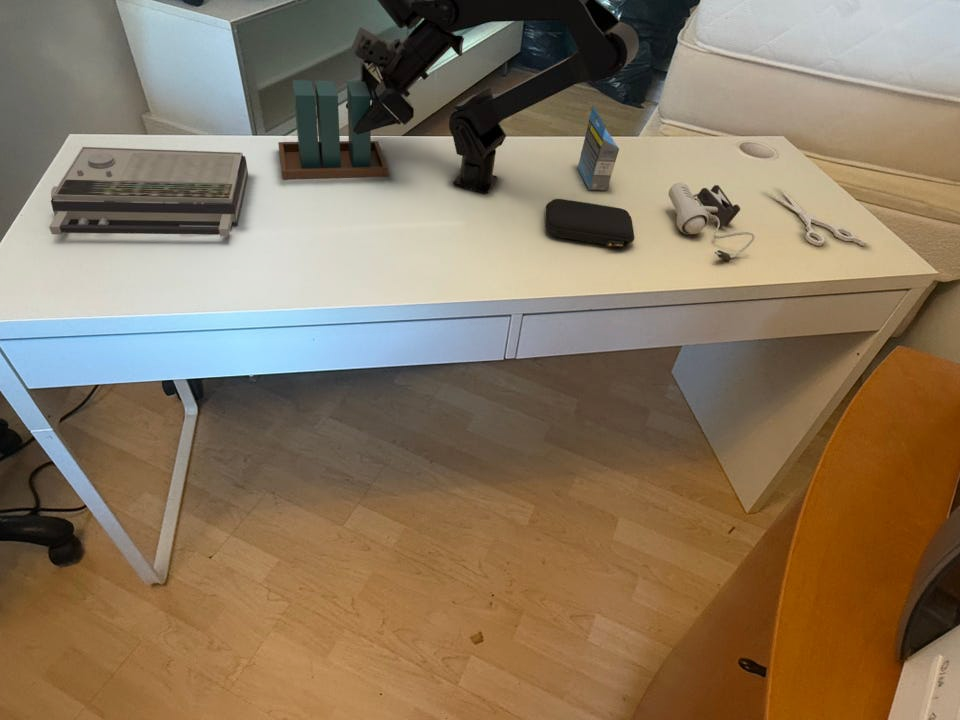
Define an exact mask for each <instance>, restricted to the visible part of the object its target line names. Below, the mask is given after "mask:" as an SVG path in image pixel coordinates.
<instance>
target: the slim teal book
mask: <svg viewBox="0 0 960 720" xmlns="http://www.w3.org/2000/svg"><path fill="white" fill-rule="evenodd" d="M346 95H347V96H346V97H347V100H346V101H347V102H348V109H347V125H348V126H347V129H348V131H347V132H348V141H349V156H350V160H351V163H352V167H371V141H372V139H371V138H372V137H371V136H372V135H371V133H372V130H371V131H368V132H365V133H362V134H356V133H355V132H354V131H353V128H354V127H355V125H356V124H357V123H358V121H359V120H360V119H361V117H362V116H363V115H364V113H365V112H366V111H367V109H368V108H369V107H370V105H371V101H370V94H369V91H368V89H367V86H366V83H365V82H358V81H354V80H353V81H352V80H351V81H349V80H348V81H347V80H346Z"/></svg>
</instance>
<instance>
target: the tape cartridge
mask: <svg viewBox="0 0 960 720" xmlns="http://www.w3.org/2000/svg"><path fill="white" fill-rule="evenodd" d="M590 109H591V110H590V114H589V119H588V124H587V128H586V132H585V136H584V140H583V145H582V148H581V153H580V157H579V161H578V165H577V169H578V171H579V174H580V175H581V177H582V179H583V181H584V183H585V185H586V188H587V190H588V191H600V192H601V191H603V192H605V191H608V189H609V185H610V181H611V178H612V174H613V171H614V168H615V164H616V162H617V158H618V155H619V151H620V148H619V146H618V145H617V143H616V142H615V140H614V139H613V137H612V136H611V134H610V133H609V131H608V130H607V128H606V126H607V125H606V123H605V122H604V121H603V118H602V117H601V116H600V114H599V112H598V110H597V109H596V108H595V106H594V105H593V104H591V108H590ZM596 120H597V121H596Z"/></svg>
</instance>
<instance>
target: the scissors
mask: <svg viewBox="0 0 960 720" xmlns="http://www.w3.org/2000/svg"><path fill="white" fill-rule="evenodd" d="M780 190H781V191H782V193H783V194H784V196H785V197H786V198H787V200H788V201H789V202H790V203H788V202H787V201H785V200H784V199H782V198H780V197H778V196H777V195H775V194H773V193H771V192H769V191H767V190H766V192H767V193H769V194H770V195H771V196H773V197H774V198H775V199H777V200H778V201H779V202H781V203H782V204H783V205H785V206H786V207H788V208H789V209H791V210H792V211H794V212H795V213H796V214H797V215H798V216H799V218H800V220H801V221H803V223H804V224H805V225H806V227H805V230H807V232H806V234H805V236H804V237H805V240H806V241H807V242H808V243H810V244H811V245H814V246H818V247H819V246H822V245H823V244H824V243H825V241H826V239H825V237H824V236H823V235H822V234H821V233H820V232H819V233H818V232H817V231H815V230H814V229H813V228H812V224H815V225H818V226H821V227H823V228H826V229H827V230H829V231H830V232H831V233H833V236H834V237H836V238H838V239H840V240H841V241H846V242H854V243H856V244H859V245H861V246H863V247H865V245H866V244H867V241H866V240H864V239H861V238H859V237H857V236H855V234H854V233H853V232H851V231H850V230H848V229H846V228H843V227H837V226H833V225H832V224H830V223H828V222H825V221H822V220H819V219H818V218H816V217H815V216H814V215H811V214H809V213H807V212H806V211H804V210H803V209H802V208H801V207H800V205H799V204H797V203H796V202H795V201H794V199H792V197H791V196H790V195H789V194H788V193H787V192H786V191H784V190H783V189H782V188H781V189H780ZM812 237H814V238H816V239H814V238H812Z"/></svg>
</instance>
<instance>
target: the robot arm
mask: <svg viewBox="0 0 960 720" xmlns="http://www.w3.org/2000/svg"><path fill="white" fill-rule="evenodd" d="M376 1H377V2H378V3H379V5H380V6H381V7H382V8H383V9H384V11H385V12H386V13H387V15H388V16H389V17H390V18H391V20H392V21H393V22H394V23H395V25H396V26H397V27H398V28H399V29H403V28H405V27H406V29H408V30H411V29H412V31H411V32H410V33H409V34H408V35H406V37H405V38H404V39H403V40H402V39H401V38H398V39H397V38H395V39H394V40H393V41H392V42H391V43H390V42H389V41H387V40H385V39H384V38H382V37H381V36H378V35H376V34H374V33H373V32H372V31H369V30H367V29H365V28H364V27H359V28H358V30H357V33H356V35H355V37H354V40H353V42H352V45H351V48H352V49H353V54H354V55H355V57H358V58H359V59H361V60H360V61H359V66H360V77H359V79H358V81H357V82H365V83H366V86H367V89H368V91H369V94H370V102H371V103H370V107H369V108H368V109H367V111H366V112H365V113H364V115H363V116H362V117H361V119H360V120H359V121H358V123H357V124H356V125H355V127H354V128H353V131H354V132H355V133H356V134H362V133H365V132H368V131H371V132H372V131H375V130H378V129H380V128H384V127H388V126H389V127H390V126H393V125H398V126H400V125H401V124H402V125H404V126H406V125H407V124H408V123H409V122H410V121H411V120H412V119H413V118H414V116H415V115H414V114H415V109H414V107H413V104H412V103H411V100H410V99H409V98H408V97H409V96H410V95H411V92H410V89H411V87H412V86H413V85H415V83H416V82H418V81H419V79H422V80H423V81H426V79H427V78H428V77H429V74H428V71H429V70H430V69H431V68H432V67H433V66H434V65H435V64H436V63H437V62H438V61H439V60H440V59H441V57H443V56H444V55H445V54H446V53H447V52H448V51H449V50H450V49H452V51H454V52H455V54H456V55H457V56H459V57H462V56H463V44H464V42H465V38H464V36H463V35H456V34H455V33H457V32H459V31H464V30H468V29H471V28H475V27H477V26H482V25H485V24H489V23H498V22H499V23H501V22H529V21H530V22H534V21H535V22H536V21H561V22H562V23H563V24H564V25H565V26H566V28H567V30H568V32H569V33H570V36H571V37H572V39H573V41H574V43H575V44H576V46H577V48H578V50H577V51H576V52H574V53H572V54H571V55H570V56H569V57H567V58H565V59H563V60H561V61H559V62H557V63H555V64H553V65H551V66H550V67H548V68H546V69H544V70H542V71H540V72H538V73H536V74H535V75H533V76H531V77H529V78H527V79H525V80H523V81H521V82H520V83H517V84H515V85H514V86H511V87H510V88H508V89H506V90H504V91H502V92H500V93H499V92H498V93H492V89H491V86H487V87H486V88H485V89H483V90H481V91H480V92H479V93H477V94H472V95H471V96H469V97H467V98H466V99H464V100H463V101H461V102H459V103H458V104H457V105H455V106H454V109H455V110H454V112H452V113H451V114H450V116H449V121H448V126H449V127H448V128H449V132H450V134H451V136H452V139H453V143H454V148H455V153H456V155H458V156H461V164H460V173H459V174H458V175H457V176H456V177H455V179H454V180H453V182H452V185H453V186H456V187H460V188H464V189H467V190H470V191H474V192H477V193H480V194H481V193H482V194H484V195H485V194H486V195H487V194H489V192H490V191H491V190H492V188H493V187H494V185H495V184H496V182H497V181H498V179H499V177H498V176H497V175H494V167H495V161H496V154H497V151H496V150H497V148H499V147H501V146H502V145H503V143H504V141H505V140H506V138H507V134H506V132H505V131H504V130H503V127H502V126H501V124H500V123H501V122H502V121H504V120H506V119H508V118H509V117H512V116H513V115H515V114H516V115H517V113H520V112H522V111H524V110H526V109H527V108H530V107H532V106H534V105H536V104H539V103H540V102H542V101H544V100H546V99H549V98H550V97H553V96H554V95H556V94H558V93H560V92H563V91H564V90H566V89H569V88H570V87H573V86H575V85H578V84H586V83H592V82H596V81H600V80H604V79H607V78H612V77H613V76H616V75H617V74H618V73H620V72H621V71H622V70H623V69H624V68H625V67H626V66H627V65H629V64H630V63H631V62H632V61H633V60H634V59H635V57H636V56H637V53H638V51H639V45H640V41H639V36H638V34H637V32H636V30H635V29H634V28H633V27H632V26H631V25H630V24H628V23H625V22H623V21H620V19H619V18H618V17H617V16H616V15H615V14H614V13H613V11H611V9H609V8H608V7H606V6H605V5H604V4H603V3H601V2H599V0H376ZM413 28H414V29H413ZM345 108H346V109H347V110H348V101H347V102H346V104H345Z"/></svg>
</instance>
